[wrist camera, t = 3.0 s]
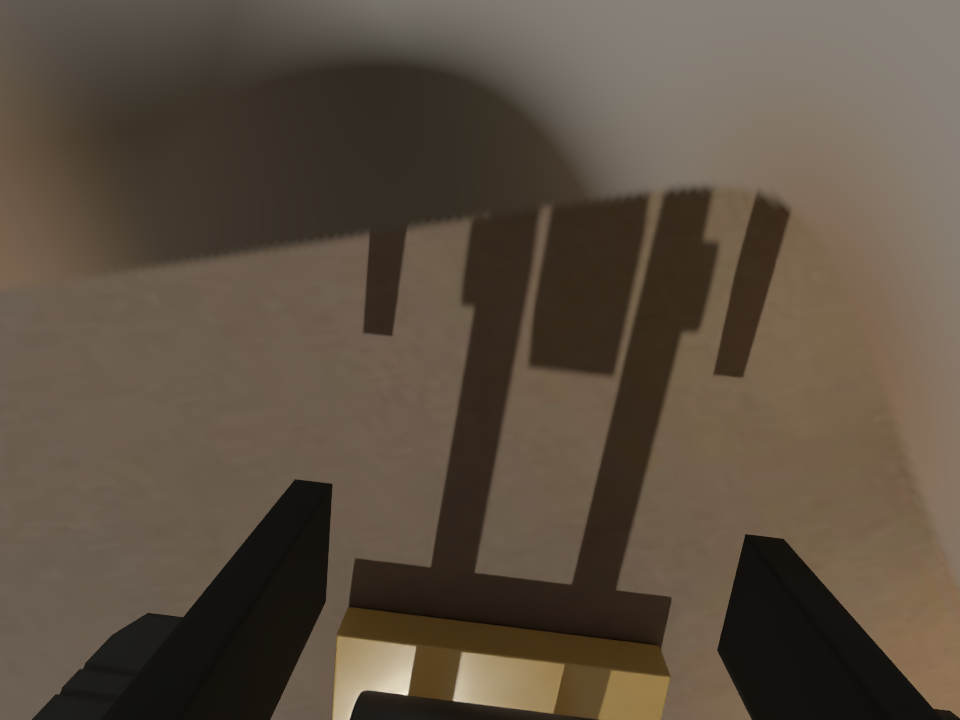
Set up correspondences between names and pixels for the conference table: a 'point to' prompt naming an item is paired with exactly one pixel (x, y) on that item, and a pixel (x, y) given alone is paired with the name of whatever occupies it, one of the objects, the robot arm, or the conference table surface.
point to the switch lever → (437, 709)
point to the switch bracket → (496, 667)
